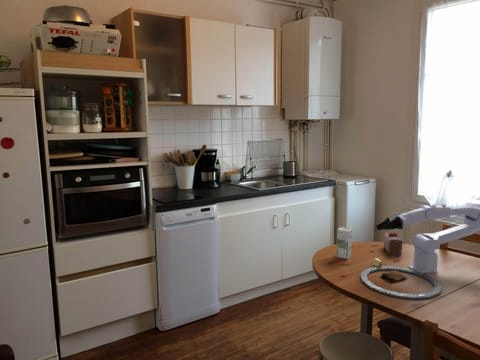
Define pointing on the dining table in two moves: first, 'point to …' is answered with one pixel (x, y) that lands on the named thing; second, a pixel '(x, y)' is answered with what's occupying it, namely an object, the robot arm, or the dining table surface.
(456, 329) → the dining table surface
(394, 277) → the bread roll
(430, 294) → the turntable ring
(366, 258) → the dining table surface
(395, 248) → the food item
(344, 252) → the syrup box
